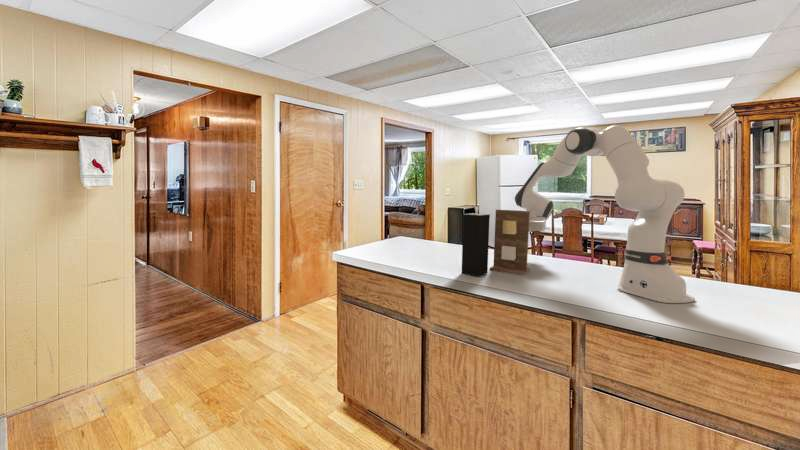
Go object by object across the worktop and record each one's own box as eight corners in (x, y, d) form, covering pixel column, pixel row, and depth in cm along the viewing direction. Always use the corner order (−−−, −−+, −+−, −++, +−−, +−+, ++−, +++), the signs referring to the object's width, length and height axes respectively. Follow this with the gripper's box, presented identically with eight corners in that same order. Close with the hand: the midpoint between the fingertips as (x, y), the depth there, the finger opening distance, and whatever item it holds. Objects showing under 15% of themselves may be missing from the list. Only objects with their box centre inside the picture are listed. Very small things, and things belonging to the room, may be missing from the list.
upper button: (507, 231, 159) (508, 219, 158) (520, 232, 155) (521, 219, 155) (502, 233, 153) (502, 220, 152) (515, 234, 150) (516, 221, 149)
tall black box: (487, 273, 150) (490, 206, 147) (477, 277, 144) (480, 207, 141) (471, 270, 155) (473, 205, 152) (461, 273, 150) (463, 206, 147)
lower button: (506, 256, 160) (507, 243, 159) (519, 257, 157) (519, 245, 156) (501, 258, 154) (501, 246, 154) (514, 260, 151) (515, 247, 150)
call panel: (497, 266, 164) (500, 208, 161) (529, 270, 156) (532, 210, 153) (489, 270, 156) (492, 210, 153) (522, 275, 148) (525, 211, 145)
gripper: (505, 215, 178) (495, 217, 166) (549, 217, 166) (541, 219, 155) (504, 227, 178) (495, 230, 167) (548, 230, 167) (541, 234, 156)
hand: (517, 225), depth 161 cm, fingers closed
